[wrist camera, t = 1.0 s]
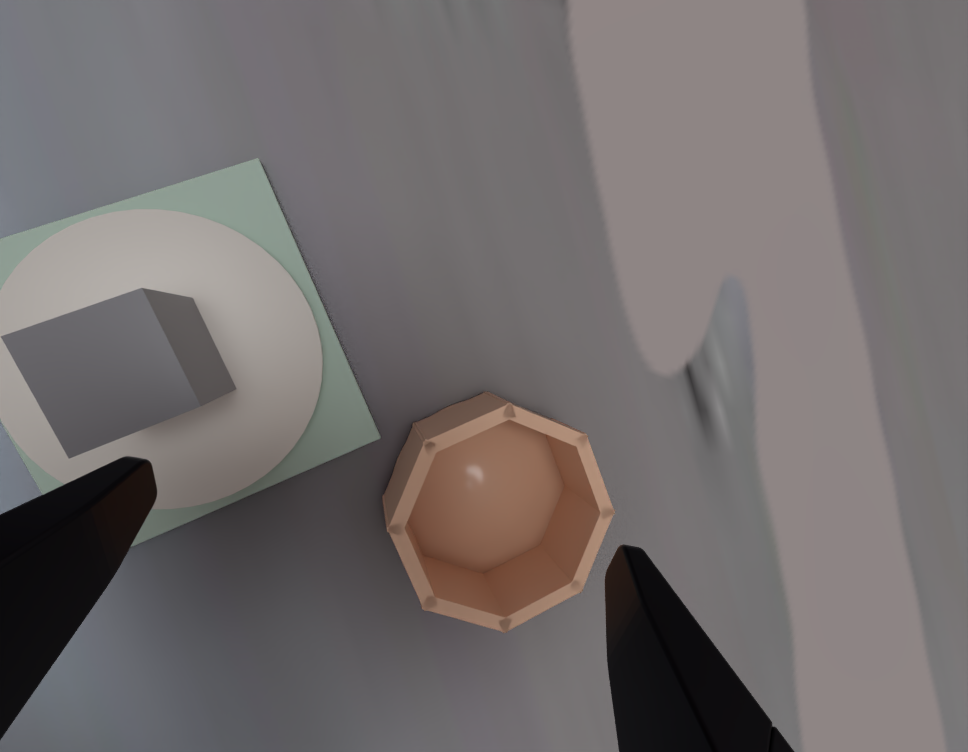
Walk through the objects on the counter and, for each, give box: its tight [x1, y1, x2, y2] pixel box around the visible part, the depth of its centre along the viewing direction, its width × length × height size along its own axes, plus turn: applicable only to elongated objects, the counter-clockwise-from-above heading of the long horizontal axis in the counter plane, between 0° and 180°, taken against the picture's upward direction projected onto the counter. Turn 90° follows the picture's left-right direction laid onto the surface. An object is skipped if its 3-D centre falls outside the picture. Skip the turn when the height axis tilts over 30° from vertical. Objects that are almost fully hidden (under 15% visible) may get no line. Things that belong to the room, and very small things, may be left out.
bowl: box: [382, 391, 615, 633], centre depth 23 cm, size 9×9×4 cm
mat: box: [0, 158, 381, 547], centre depth 22 cm, size 13×13×1 cm
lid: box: [0, 209, 323, 509], centre depth 18 cm, size 12×12×6 cm
